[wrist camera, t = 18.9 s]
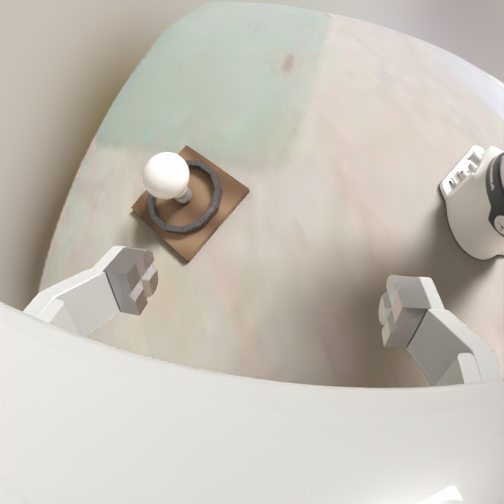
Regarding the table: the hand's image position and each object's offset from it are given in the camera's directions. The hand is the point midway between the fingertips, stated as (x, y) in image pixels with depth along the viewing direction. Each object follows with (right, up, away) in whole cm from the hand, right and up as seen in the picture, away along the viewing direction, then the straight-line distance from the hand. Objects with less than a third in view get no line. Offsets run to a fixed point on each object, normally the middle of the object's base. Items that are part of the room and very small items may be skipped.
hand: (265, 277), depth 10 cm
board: (-11, +9, +36) cm, 38 cm away
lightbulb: (-11, +9, +35) cm, 37 cm away
